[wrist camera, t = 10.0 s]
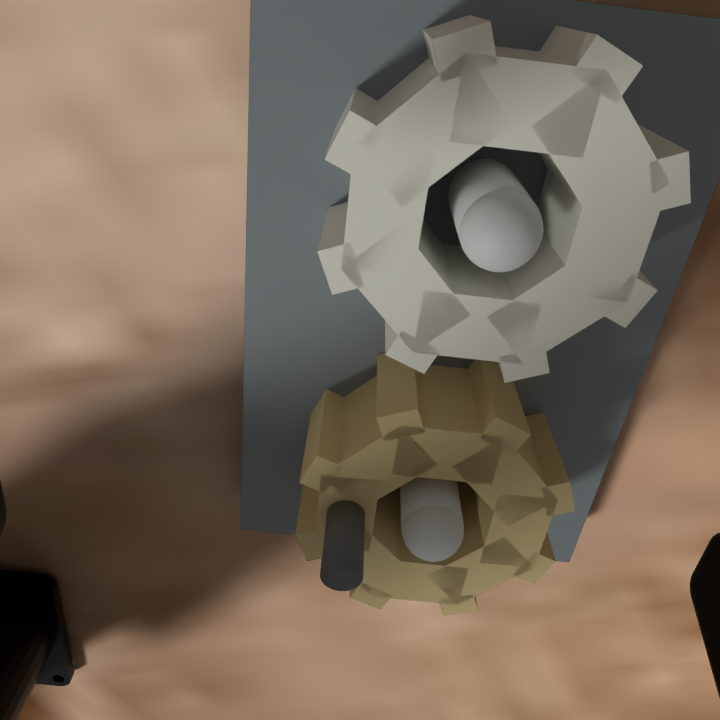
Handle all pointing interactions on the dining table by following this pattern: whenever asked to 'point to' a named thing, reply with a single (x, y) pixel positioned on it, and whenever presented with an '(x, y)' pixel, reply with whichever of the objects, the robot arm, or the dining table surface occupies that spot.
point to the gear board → (446, 374)
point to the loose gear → (556, 205)
